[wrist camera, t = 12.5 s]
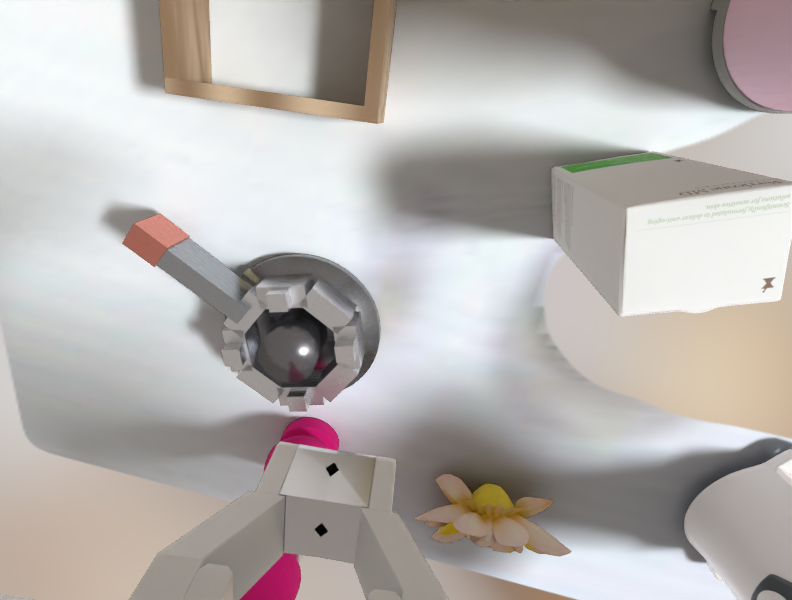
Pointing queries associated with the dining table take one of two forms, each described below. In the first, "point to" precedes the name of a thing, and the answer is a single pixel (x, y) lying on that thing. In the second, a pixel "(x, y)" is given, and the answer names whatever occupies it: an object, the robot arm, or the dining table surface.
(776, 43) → the blender
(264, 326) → the domed metal lid
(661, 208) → the skincare box
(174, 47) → the square wooden frame
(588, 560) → the dining table surface
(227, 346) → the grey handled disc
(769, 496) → the robot arm
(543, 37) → the dining table surface
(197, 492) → the dining table surface
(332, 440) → the pepper mill
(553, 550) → the decorative flower
